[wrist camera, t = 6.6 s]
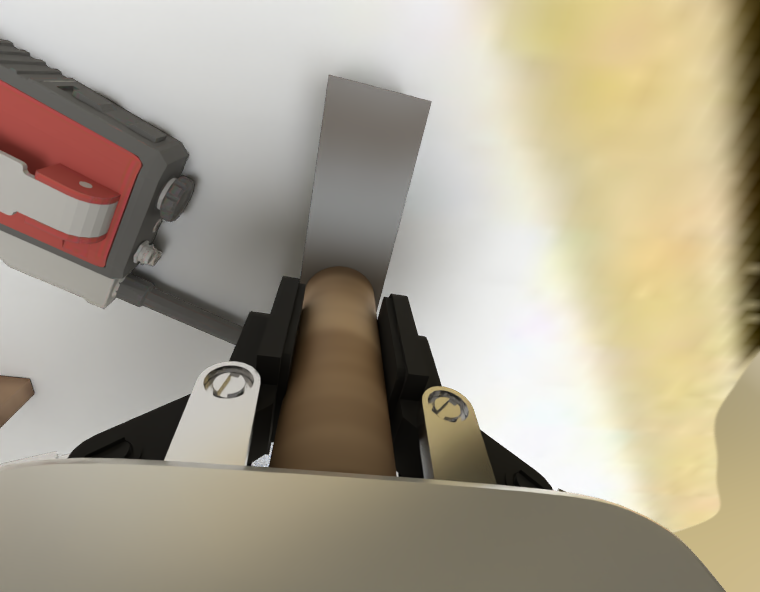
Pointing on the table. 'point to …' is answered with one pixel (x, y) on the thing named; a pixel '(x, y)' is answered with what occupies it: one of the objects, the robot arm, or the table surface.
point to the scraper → (348, 283)
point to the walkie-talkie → (87, 191)
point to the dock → (13, 396)
